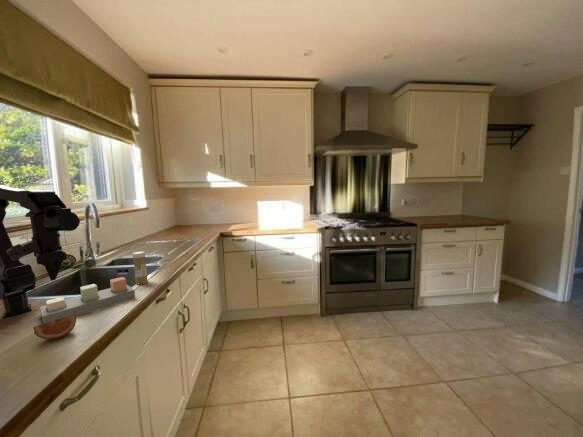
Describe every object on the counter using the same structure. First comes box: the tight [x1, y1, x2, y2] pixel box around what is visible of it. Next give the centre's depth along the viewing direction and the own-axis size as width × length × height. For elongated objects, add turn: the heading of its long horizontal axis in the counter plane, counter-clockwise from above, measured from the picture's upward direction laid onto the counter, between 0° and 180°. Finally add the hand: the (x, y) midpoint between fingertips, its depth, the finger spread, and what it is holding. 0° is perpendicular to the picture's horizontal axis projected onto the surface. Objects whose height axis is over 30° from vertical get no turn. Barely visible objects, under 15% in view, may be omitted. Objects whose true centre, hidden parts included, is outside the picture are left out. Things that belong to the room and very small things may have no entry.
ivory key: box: [45, 296, 66, 312], centre depth 79 cm, size 4×4×5 cm
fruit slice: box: [32, 314, 77, 340], centre depth 67 cm, size 8×7×5 cm
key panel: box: [39, 284, 136, 324], centre depth 86 cm, size 10×24×3 cm, turn 138°
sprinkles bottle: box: [132, 251, 148, 285], centre depth 106 cm, size 5×5×13 cm
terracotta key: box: [109, 276, 128, 293], centre depth 91 cm, size 4×4×5 cm
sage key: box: [79, 283, 99, 302], centre depth 85 cm, size 4×4×5 cm
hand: (53, 279), depth 78 cm, fingers closed
